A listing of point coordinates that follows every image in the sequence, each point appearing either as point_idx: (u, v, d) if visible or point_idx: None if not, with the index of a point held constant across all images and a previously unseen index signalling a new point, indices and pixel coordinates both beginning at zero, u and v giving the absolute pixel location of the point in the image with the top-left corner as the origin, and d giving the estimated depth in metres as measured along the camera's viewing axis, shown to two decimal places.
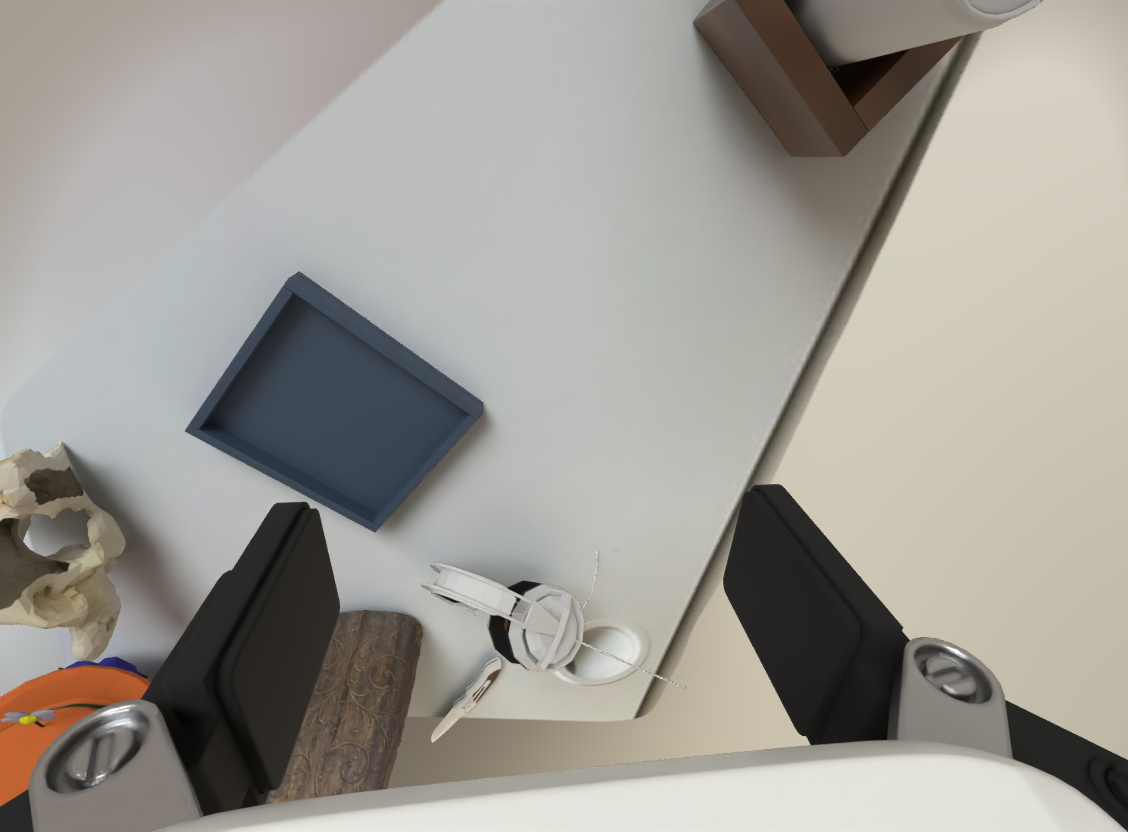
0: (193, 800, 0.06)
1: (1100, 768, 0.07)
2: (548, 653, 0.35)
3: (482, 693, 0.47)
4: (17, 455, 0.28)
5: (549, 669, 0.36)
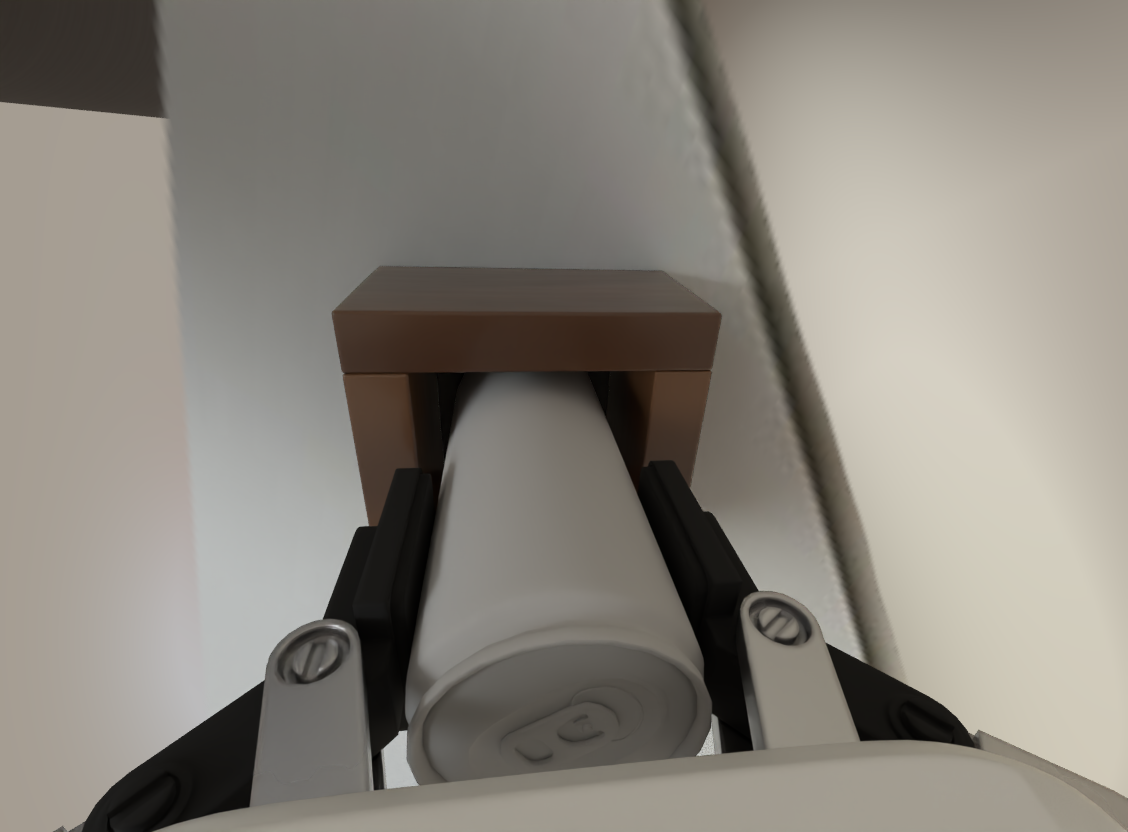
0: (365, 730, 0.06)
1: (902, 703, 0.07)
2: None
3: None
4: None
5: None
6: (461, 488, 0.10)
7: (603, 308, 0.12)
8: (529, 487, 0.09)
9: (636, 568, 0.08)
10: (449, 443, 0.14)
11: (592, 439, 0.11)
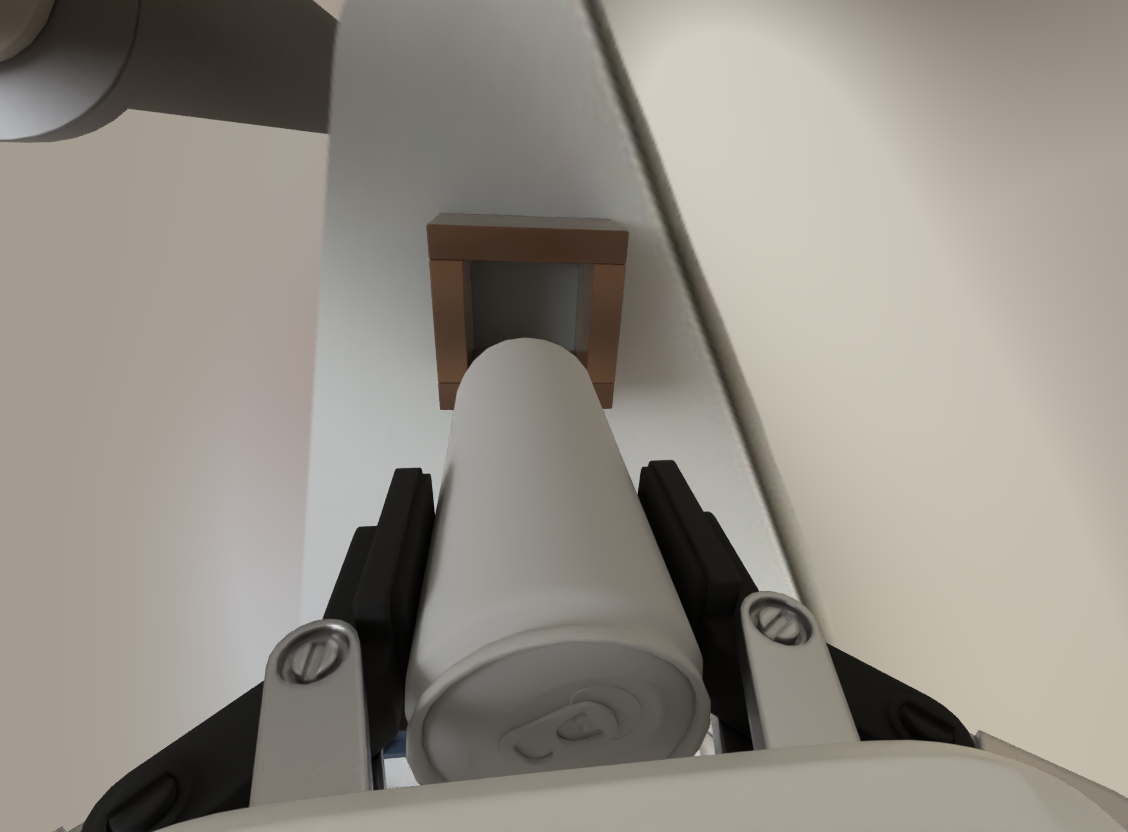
0: (365, 730, 0.06)
1: (902, 703, 0.07)
2: None
3: None
4: None
5: None
6: (461, 487, 0.10)
7: (565, 227, 0.23)
8: (528, 486, 0.09)
9: (635, 567, 0.08)
10: (449, 442, 0.14)
11: (592, 439, 0.11)
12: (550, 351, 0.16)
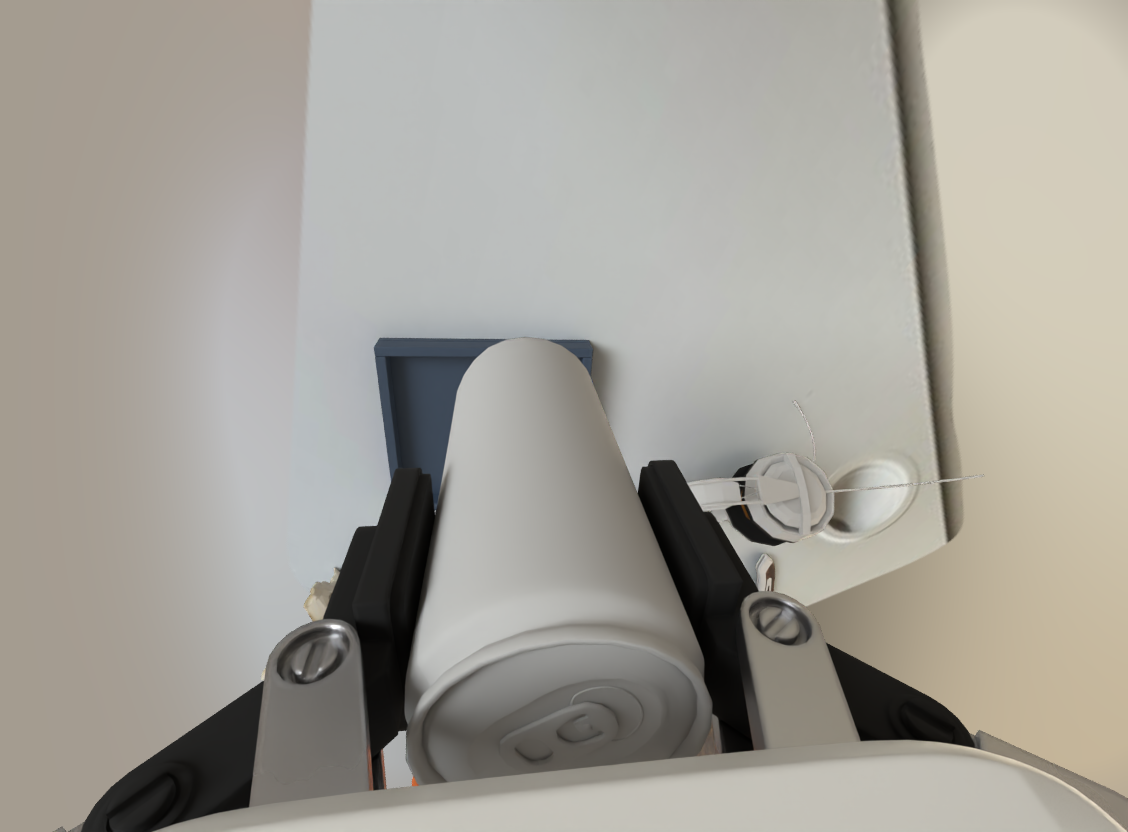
0: (364, 730, 0.06)
1: (903, 703, 0.07)
2: (803, 516, 0.32)
3: None
4: (312, 590, 0.35)
5: (815, 531, 0.33)
6: (461, 488, 0.10)
7: None
8: (529, 486, 0.09)
9: (636, 568, 0.08)
10: (449, 442, 0.14)
11: (593, 439, 0.11)
12: (551, 350, 0.16)
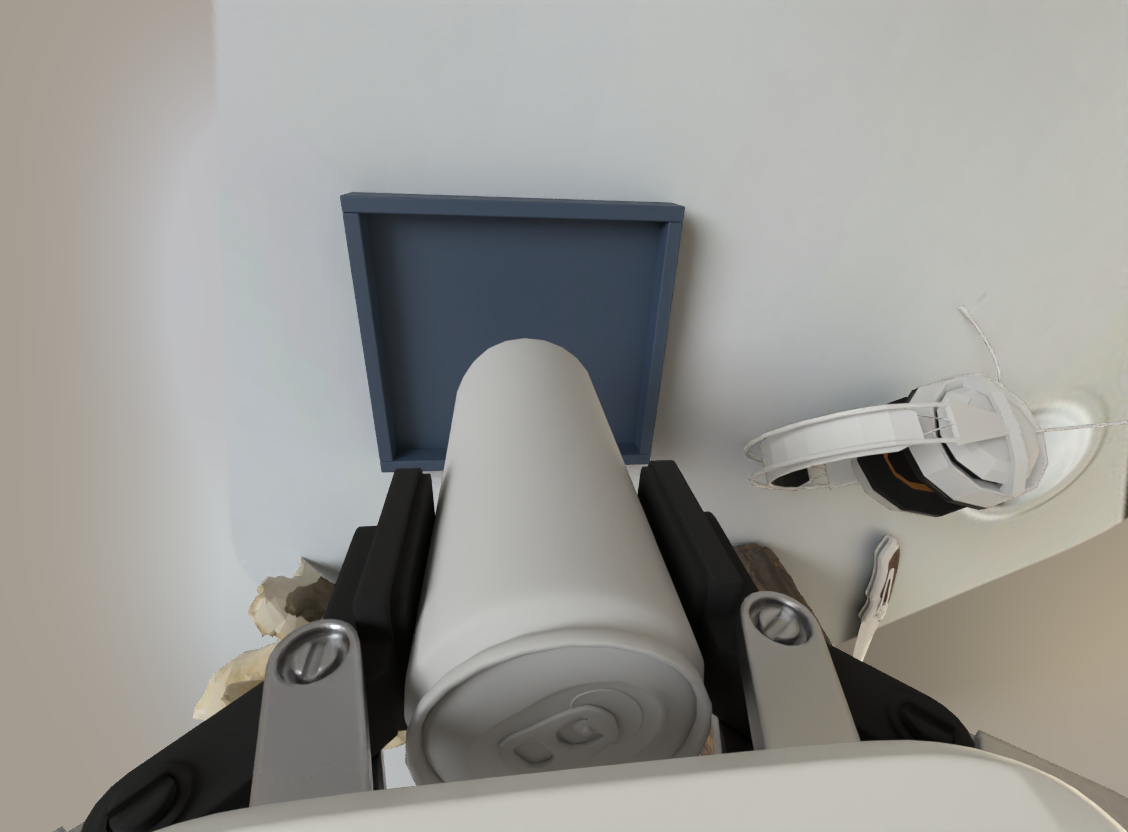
0: (365, 730, 0.06)
1: (903, 703, 0.07)
2: (1016, 464, 0.21)
3: (890, 588, 0.34)
4: (260, 588, 0.23)
5: (1025, 489, 0.21)
6: (461, 489, 0.10)
7: None
8: (529, 489, 0.09)
9: (635, 570, 0.08)
10: (449, 444, 0.14)
11: (593, 440, 0.11)
12: (551, 352, 0.16)
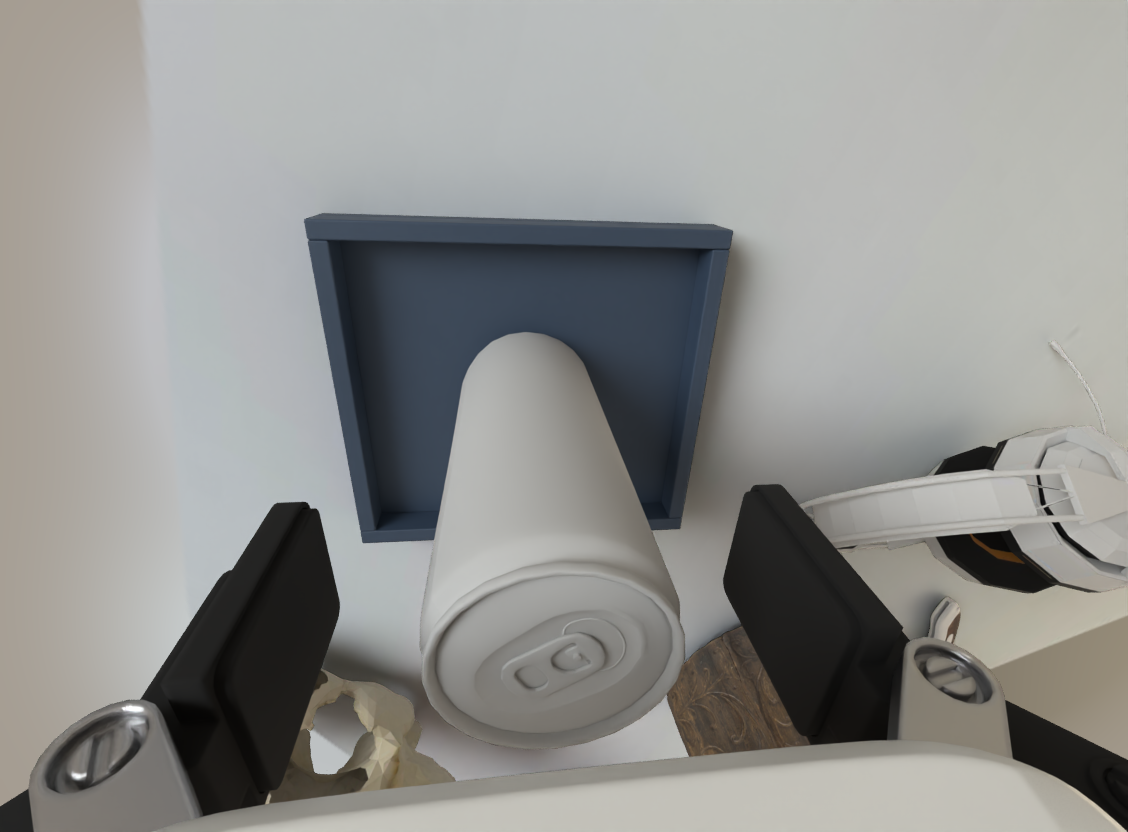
0: (193, 800, 0.06)
1: (1101, 768, 0.07)
2: None
3: None
4: None
5: None
6: (468, 459, 0.11)
7: None
8: (528, 455, 0.10)
9: (619, 521, 0.09)
10: (456, 426, 0.15)
11: (586, 419, 0.13)
12: (549, 344, 0.17)
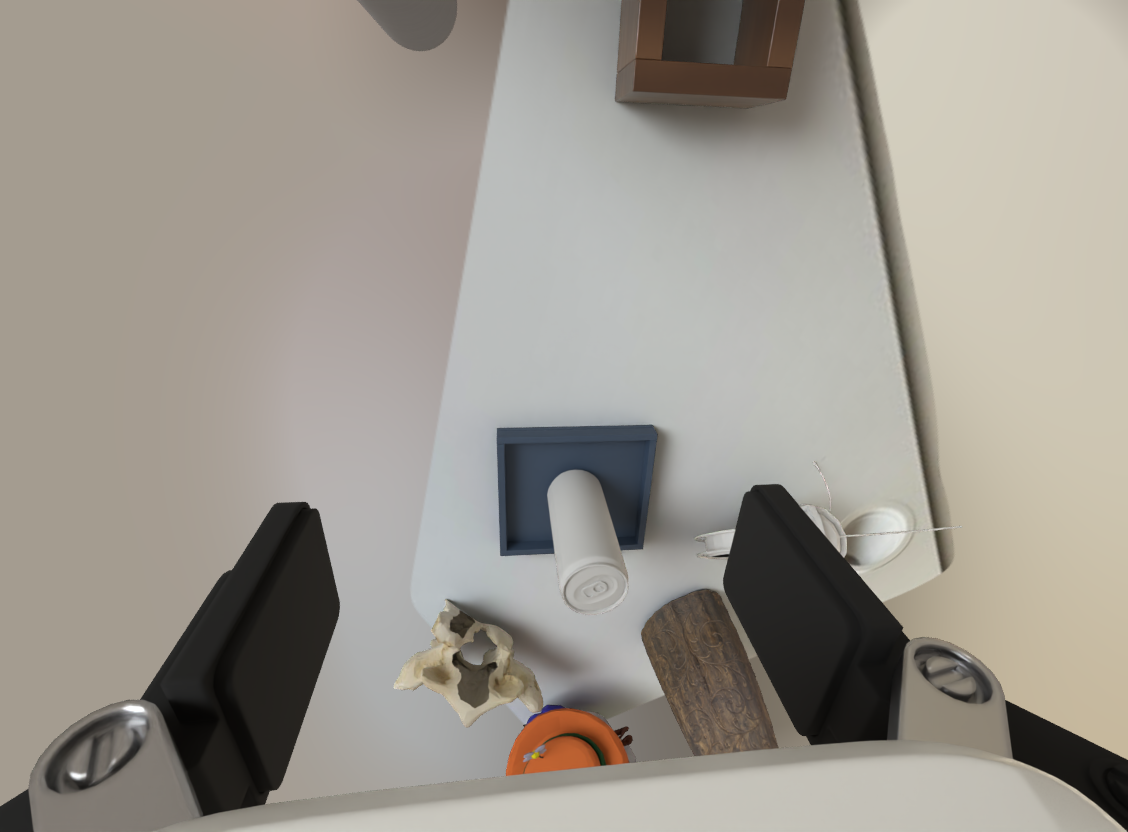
0: (193, 800, 0.06)
1: (1100, 769, 0.07)
2: None
3: None
4: (439, 618, 0.45)
5: None
6: (565, 531, 0.37)
7: None
8: (585, 532, 0.36)
9: (611, 552, 0.34)
10: (552, 513, 0.40)
11: (601, 516, 0.38)
12: (585, 476, 0.42)
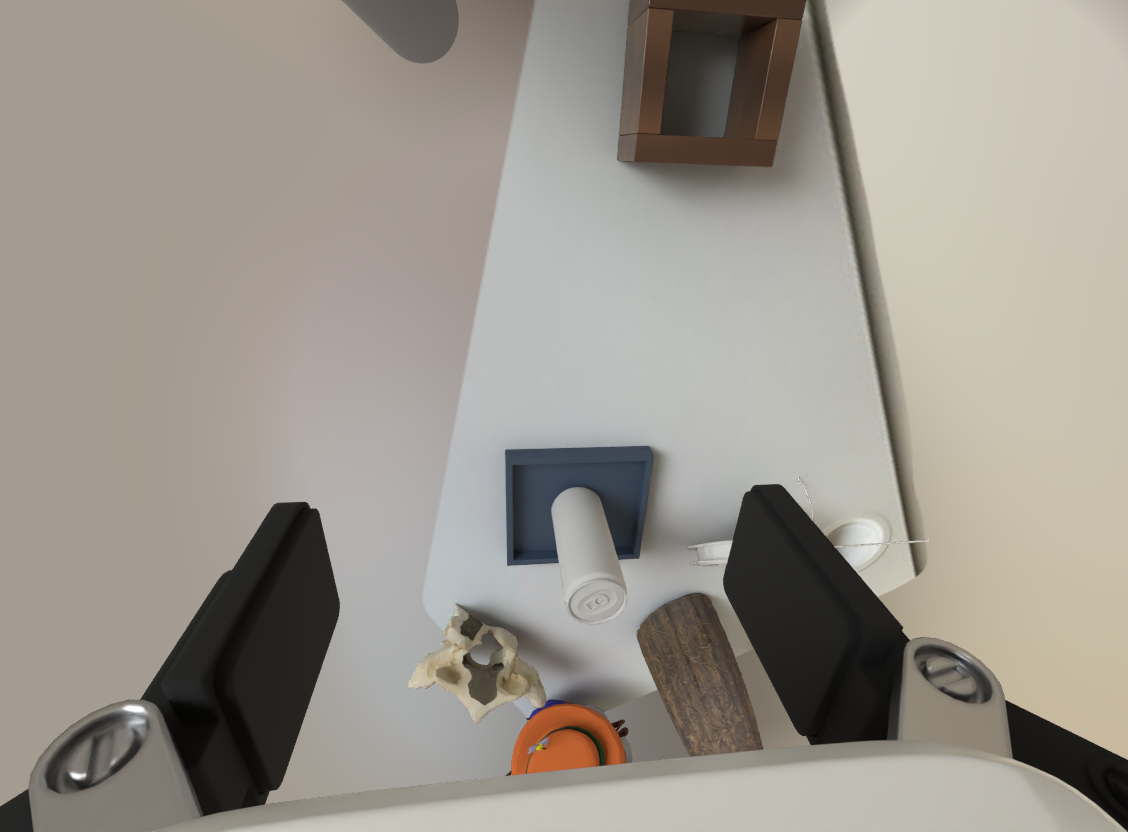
0: (193, 800, 0.06)
1: (1101, 768, 0.07)
2: None
3: None
4: (450, 623, 0.48)
5: None
6: (569, 548, 0.40)
7: None
8: (587, 549, 0.39)
9: (611, 568, 0.38)
10: (557, 529, 0.44)
11: (602, 533, 0.42)
12: (586, 494, 0.46)
